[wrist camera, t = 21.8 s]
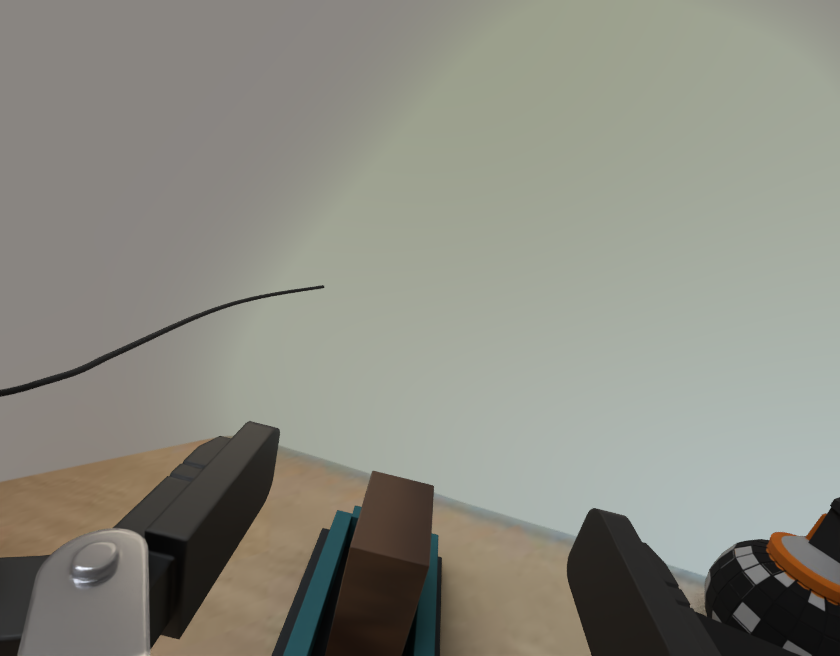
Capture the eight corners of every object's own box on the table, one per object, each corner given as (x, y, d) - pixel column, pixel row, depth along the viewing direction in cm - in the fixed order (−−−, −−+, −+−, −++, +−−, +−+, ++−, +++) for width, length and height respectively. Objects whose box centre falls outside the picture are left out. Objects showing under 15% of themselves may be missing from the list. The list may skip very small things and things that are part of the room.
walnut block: (317, 685, 22) (349, 546, 19) (344, 587, 28) (372, 469, 25) (387, 702, 22) (429, 566, 19) (400, 601, 28) (434, 485, 25)
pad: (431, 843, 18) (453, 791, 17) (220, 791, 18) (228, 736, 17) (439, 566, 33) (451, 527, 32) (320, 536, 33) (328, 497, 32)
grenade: (890, 737, 28) (1034, 577, 24) (838, 804, 24) (1004, 622, 19) (720, 590, 37) (801, 456, 33) (660, 618, 33) (744, 467, 29)
